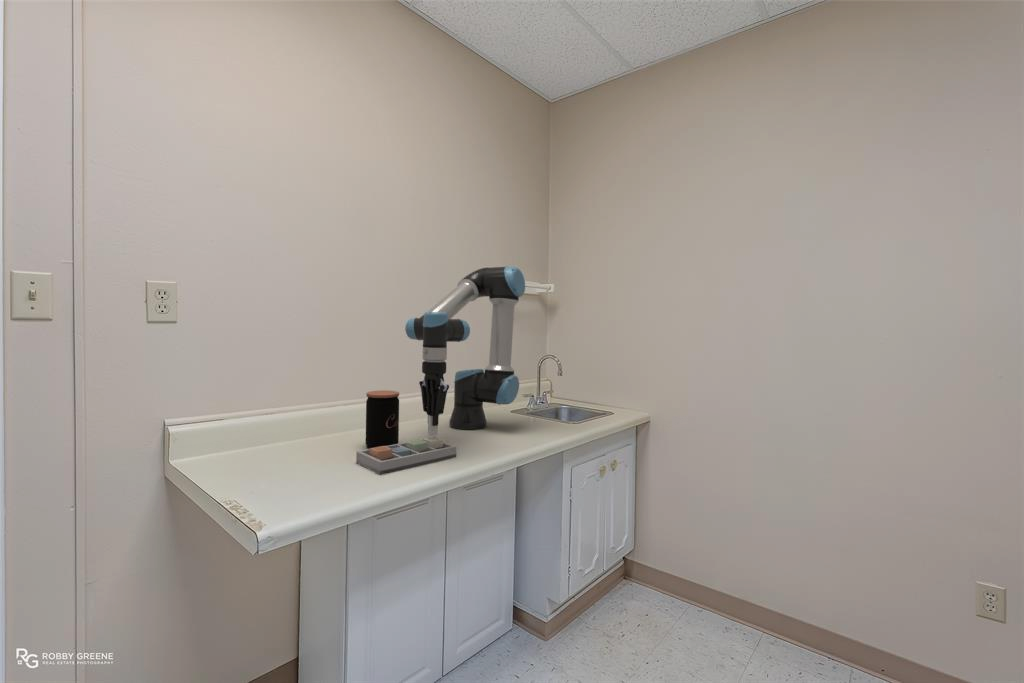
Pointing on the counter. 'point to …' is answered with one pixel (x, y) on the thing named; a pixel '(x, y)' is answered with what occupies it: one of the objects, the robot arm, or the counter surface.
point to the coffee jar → (382, 418)
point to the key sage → (417, 445)
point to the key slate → (401, 451)
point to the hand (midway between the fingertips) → (432, 435)
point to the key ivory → (434, 442)
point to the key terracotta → (381, 452)
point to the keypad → (405, 458)
